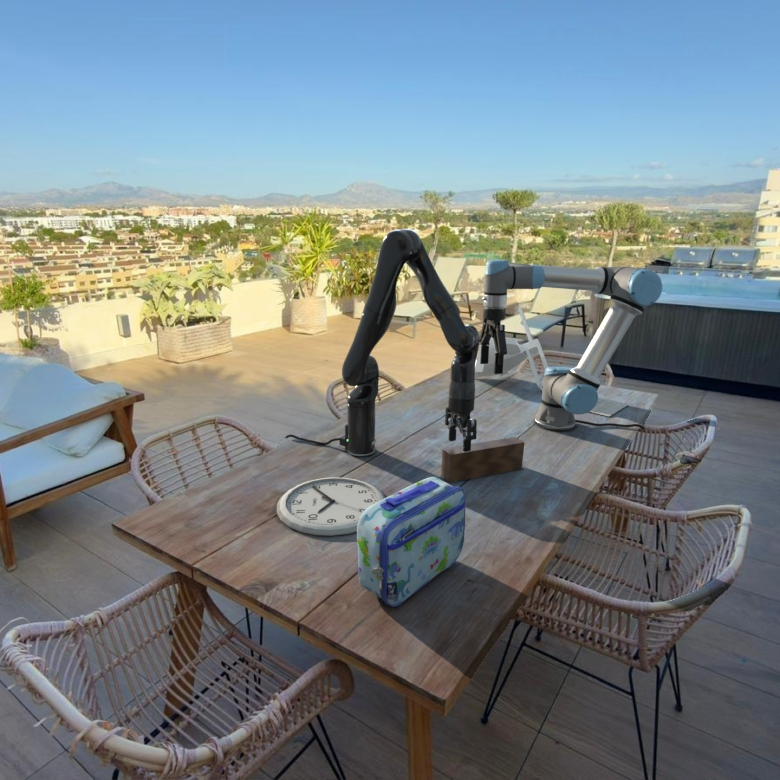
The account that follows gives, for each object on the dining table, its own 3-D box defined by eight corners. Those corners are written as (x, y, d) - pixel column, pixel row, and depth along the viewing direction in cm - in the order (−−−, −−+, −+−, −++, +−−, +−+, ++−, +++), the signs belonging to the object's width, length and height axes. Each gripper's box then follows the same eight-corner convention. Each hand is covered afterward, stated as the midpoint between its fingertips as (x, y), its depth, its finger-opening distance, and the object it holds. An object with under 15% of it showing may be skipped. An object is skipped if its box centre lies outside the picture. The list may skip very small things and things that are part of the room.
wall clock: (392, 527, 129) (268, 531, 127) (391, 533, 130) (269, 537, 127) (383, 473, 158) (282, 475, 155) (383, 478, 158) (282, 480, 156)
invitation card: (608, 416, 214) (573, 407, 224) (608, 416, 214) (573, 408, 224) (628, 404, 229) (594, 396, 238) (628, 405, 229) (594, 397, 238)
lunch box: (386, 620, 101) (388, 525, 95) (350, 593, 108) (349, 503, 102) (468, 563, 119) (474, 480, 112) (432, 543, 126) (436, 464, 120)
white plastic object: (488, 419, 265) (468, 396, 240) (469, 347, 287) (449, 319, 262) (559, 395, 253) (546, 369, 228) (534, 321, 275) (519, 290, 250)
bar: (512, 462, 171) (515, 436, 168) (521, 468, 167) (524, 442, 164) (441, 476, 161) (442, 448, 158) (448, 483, 156) (450, 454, 154)
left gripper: (438, 389, 157) (437, 439, 162) (463, 402, 144) (460, 456, 149) (460, 386, 160) (458, 435, 164) (486, 399, 147) (482, 452, 152)
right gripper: (471, 302, 186) (469, 360, 193) (497, 313, 163) (493, 378, 169) (491, 301, 188) (488, 359, 194) (520, 312, 164) (515, 377, 171)
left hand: (459, 445), depth 157 cm, fingers open, 8 cm apart
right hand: (490, 368), depth 182 cm, fingers open, 13 cm apart
